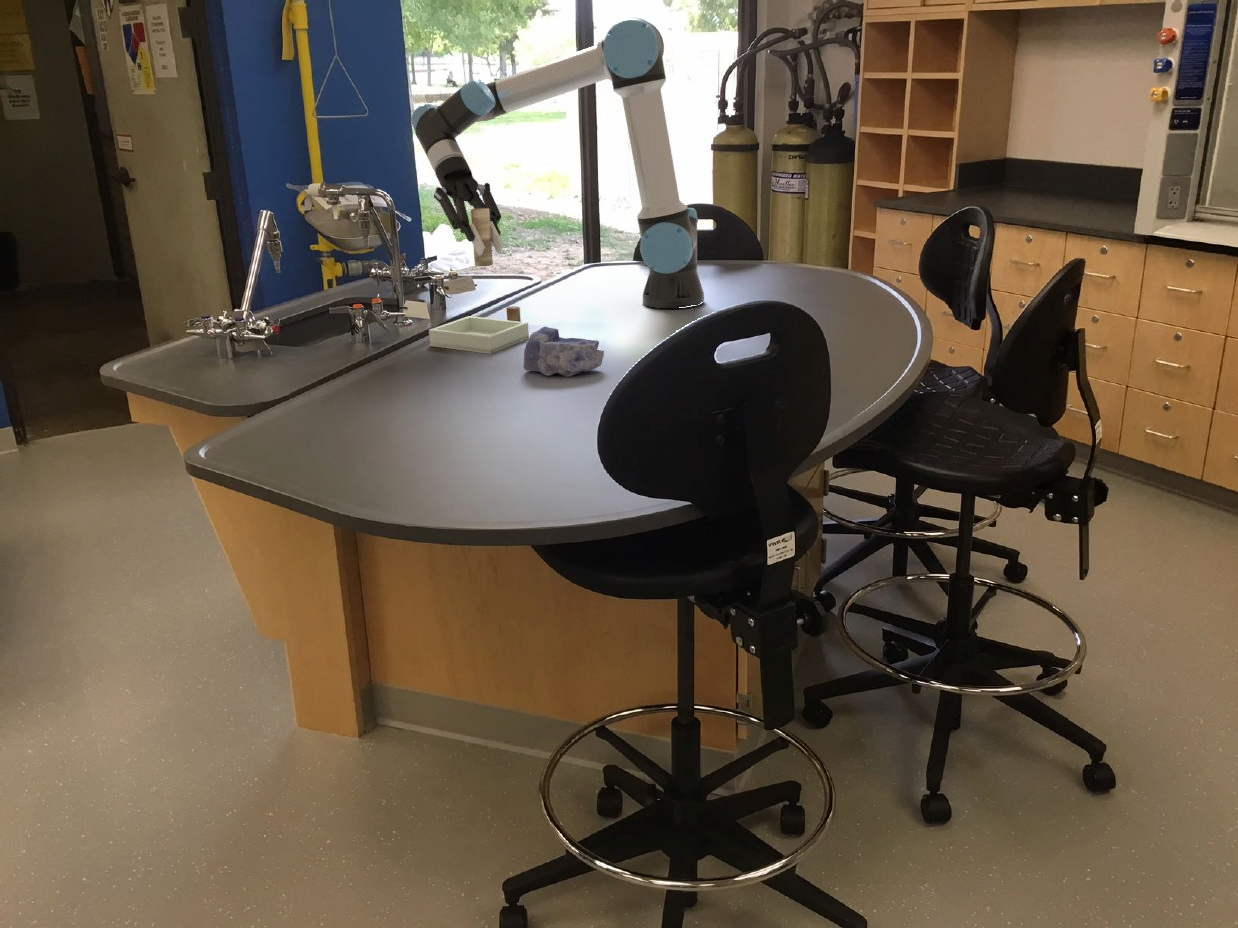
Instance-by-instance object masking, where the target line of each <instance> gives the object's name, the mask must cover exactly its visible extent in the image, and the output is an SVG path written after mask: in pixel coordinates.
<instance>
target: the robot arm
mask: <svg viewBox="0 0 1238 928" xmlns="http://www.w3.org/2000/svg"><path fill="white" fill-rule="evenodd" d="M664 49H665V44H664V39H663V36H662V34H661V32H660V30H659V29H658V28H657V26H655V25H654V24H653V23H651V22H648V21H647V20H645V19H643V18H641V17H635V16H634V17H626V18H623V19H620V20H619V21H617V22H616V23H615V24H613V25H612V26H611V28H610V29H608V32H607V33H606V36H604V37H601V38H600V39H599V41H598V43H597V44H595V45H593V46H590V47H587V48H584V49H581V50H579V51H576V52H573V53H571V54H568V55H565V56H562V57H560V58H556V59H553V60H551V61H549V62H546V63H542V64H540V65H537V66H534V67H532V68H528V69H526V70H523V71H520V72H517V73H515V74H512V75H509V76H506V77H503V78H500V79H497V80H495V81H492V82H489V83H486V84H485V82H484V81H483V80H481V79H479V78H477V77H474V78H473V79H471V80H470V81H468V82H467V83H464V84H463V85H462V86H461V87H460V88H459V89H458V90H457V91H456V92H455V93H453V94H452V95H451V96H449V97H448V98H447V99H446V100H445V101H444V102H442V103H441V104H439V105H438V104H435V103H433V102H432V103H431V102H430V103H429V102H428V103H425V104H424V105H418V107H417V108H415V110H414V111H413V112H412V114H411V117H410V120H411V121H410V122H411V126H412V127H413V130H414V132H415V136H416V138H417V139H418V141H419V143H420V145H421V147H422V149H423V151H424V153H425V155H426V157H427V160H428V162H429V164H430V165H431V167H432V170H433V172H434V173H435V176H436V179H437V181H438V183H439V184H440V186H441V187H440V186H437V187H436V188H435V190H434V193H433V198H434V199H435V200H436V201H437V202H438V203H439V204H440V206H441V208H442V210H443V212H444V214H445V216H446V218H447V219H448V221H449V223H450V225H451V227H452V229H454V230H455V231H456V230H458V229H460V231H459V232H460V233H462V234H464V236H465V237H466V239H467V240H468V242H469V243H470V242H472V246H473V245H474V247H475V249H476V251H477V254H478V255H482V253H483V251H484V249H485V246H484V244H483V242H482V240H481V238H480V236H479V234H478V232H477V230H476V228H475V226H474V223H472V222H471V223H470V220H469V215H468V211H467V208H466V203H465V202H467V203H468V204H469V206H471V207H472V208H473V209H476V208H488V209H489V212H490V227H491V243H492V246H493V247H494V250H495V251H496V254H499V253H501V252H502V250H503V248H504V242H503V240H502V238H501V234H502V233H501V232H502V231H501V230H500V228H499V226H498V224H499V222H500V220H501V218H502V213H501V212H500V210H499V207H498V205H497V203H496V201H495V199H494V195H493V194H492V192H491V185H490V183H488V182H485V183H484V184H481V183H479V182H478V181H477V180H476V179H475V178H474V177H473V172H472V169H471V167H470V166H469V164H468V162H467V160H466V159H465V156H464V153H463V151H462V149H461V148H460V145H459V143H458V141H457V140H456V138H457V137H459V136H460V135H461V134H462V133H463V132H465V131H466V130H467V129H468V128H470V127H472V126H473V125H475V124H476V123H480V122H488V121H491V120H495V118H497V117H500V116H504V115H506V114H508V113H511V112H514V111H516V110H520V109H522V108H523V109H524V108H525V107H528V106H532V105H535V104H538V103H541V102H544V101H546V100H549V99H552V98H555V97H558V96H561V95H564V94H566V93H570V92H572V91H576V90H579V89H581V88H584V87H587V86H590V85H593V84H596V83H599V82H602V81H604V80H609V81H611V83H612V89H613V91H614V93H616V94H617V95H618V96H619V97H620V98H621V100H622V105H623V110H624V117H625V122H626V126H627V131H628V132H627V133H628V137H629V143H630V149H631V154H632V155H631V156H632V160H633V164H634V171H635V176H636V181H637V187H638V192H639V198H640V204H641V210H640V211H639V213H637V216H636V219H637V223H638V229H639V234H640V242H639V250H640V251H639V252H640V254H641V257H642V260H643V261H644V263H645V264H646V265H647V266H648V268H649V269H648V270H649V271H648V276H647V279H646V282H645V286H644V289H643V293H642V304H643V306H645V305H647V306H646V307H648V306H649V308H652V307H654V308H653V309H659V308H679V307H686V306H691V305H698V304H700V303H701V302H703V301H704V302H705V292H704V289H703V286H702V283H701V280H700V277H699V273H698V222H699V221H698V220H699V218H698V213H697V210H696V209H695V208H694V207H688V206H687V205H686V204H685V203H684V202H683V201H681V200H680V195H679V190H678V189H679V188H678V183H677V179H676V178H677V177H676V171H675V166H674V160H673V155H672V150H671V149H672V147H671V143H670V142H671V141H670V136H669V130H668V125H667V118H666V113H665V107H664V106H665V105H664V102H663V95H662V88H663V85H664V84H665V83H666V81H667V78H666V71H665V65H664V59H663V56H664V51H665V50H664ZM480 196H481V197H482V198H481V197H480ZM450 198H451V199H452V201H451V200H450ZM474 247H473V248H474Z"/></svg>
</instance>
